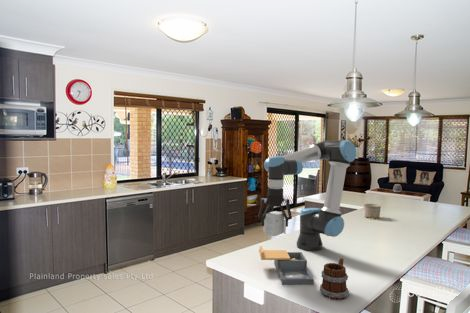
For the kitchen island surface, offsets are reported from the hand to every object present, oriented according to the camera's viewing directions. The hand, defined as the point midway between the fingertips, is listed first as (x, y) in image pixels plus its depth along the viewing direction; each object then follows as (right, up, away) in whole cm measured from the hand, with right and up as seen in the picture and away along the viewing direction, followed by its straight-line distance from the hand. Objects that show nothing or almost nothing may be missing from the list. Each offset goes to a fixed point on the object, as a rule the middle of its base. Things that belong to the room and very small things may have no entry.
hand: (274, 232), depth 166 cm
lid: (0, -12, +1) cm, 11 cm away
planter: (+93, -13, +109) cm, 144 cm away
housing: (+8, -18, -5) cm, 21 cm away
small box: (0, -1, 0) cm, 1 cm away
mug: (+22, -20, -25) cm, 39 cm away
